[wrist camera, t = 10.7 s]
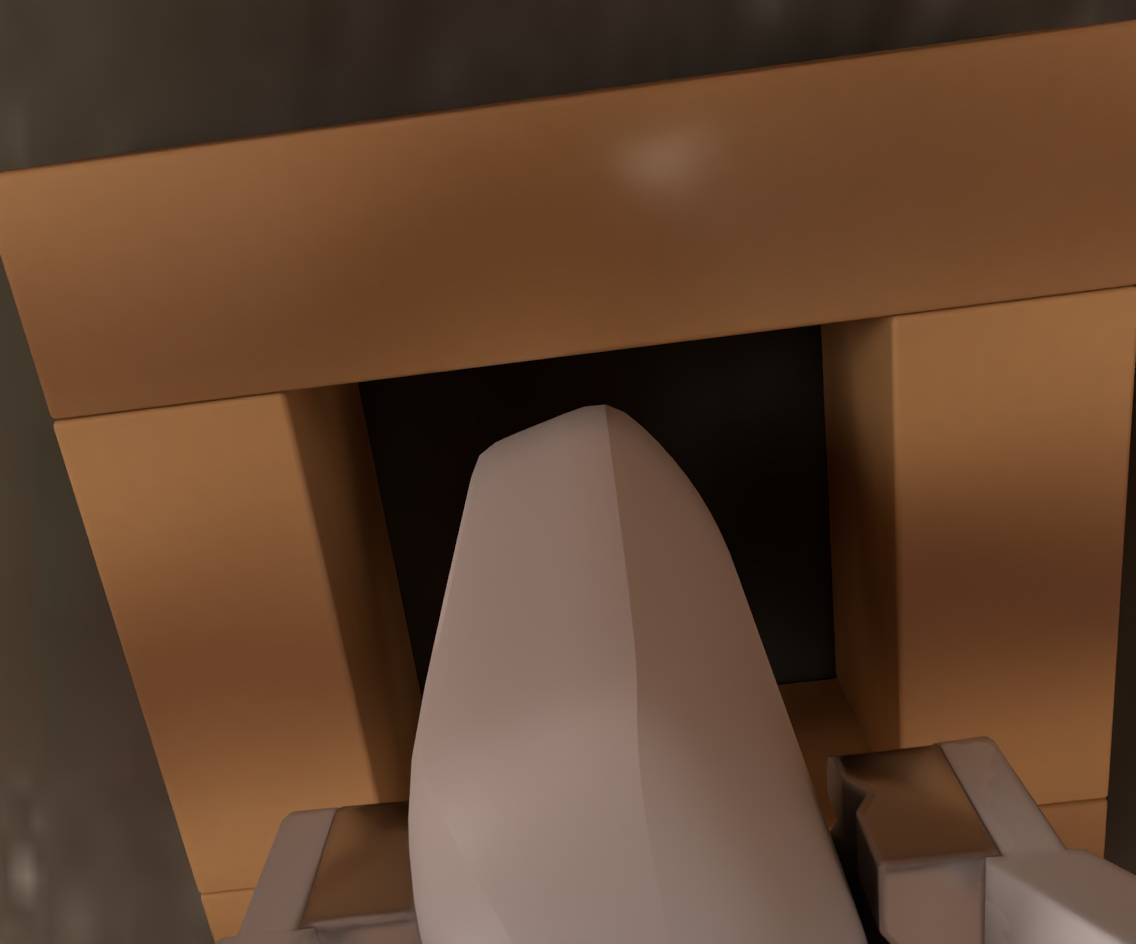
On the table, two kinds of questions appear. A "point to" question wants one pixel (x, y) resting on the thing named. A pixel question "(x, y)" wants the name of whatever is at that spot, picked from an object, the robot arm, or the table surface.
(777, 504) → the table surface
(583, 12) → the table surface
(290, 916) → the robot arm
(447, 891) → the eye dropper bottle
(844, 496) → the dock
